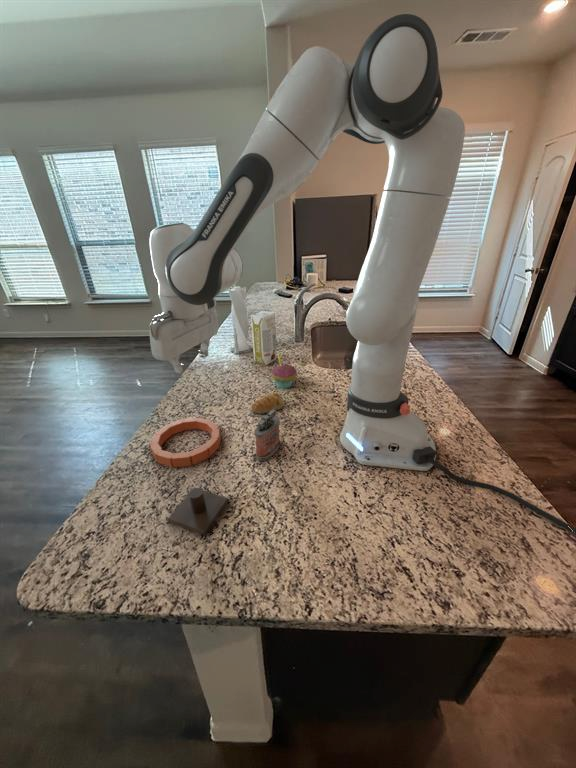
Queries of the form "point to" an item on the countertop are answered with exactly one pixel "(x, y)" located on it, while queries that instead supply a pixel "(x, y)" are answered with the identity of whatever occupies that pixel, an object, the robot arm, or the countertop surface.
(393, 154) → the robot arm
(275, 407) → the pastry
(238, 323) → the skyscraper
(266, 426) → the lighter
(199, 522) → the peg stand
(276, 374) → the cupcake
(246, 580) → the countertop surface
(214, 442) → the ring
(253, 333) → the juice carton
